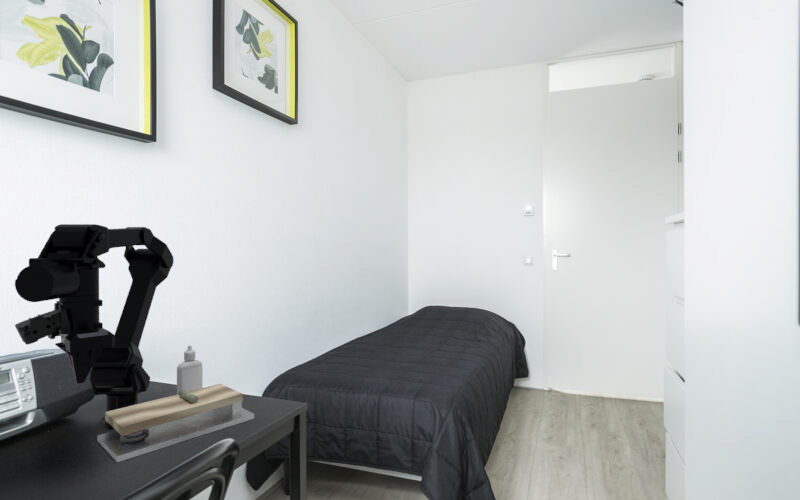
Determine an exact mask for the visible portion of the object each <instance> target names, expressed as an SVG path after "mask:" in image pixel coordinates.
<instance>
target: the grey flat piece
mask: <svg viewBox="0 0 800 500" xmlns="http://www.w3.org/2000/svg"><path fill="white" fill-rule="evenodd" d="M242 403H243V401H241V402H238V403H234V404H231V405H227V406H224V407H220V408H217V409H213V410H210V411H206V412H203V413H199V414H196V415H192V416H189V417H185V418H182V419H178V420H175V421H171V422H168V423H164V424H161V425H157V426H154V427H150V428H147V429H143V430H140V431H137V432H133V433H130V434H126V435H123V436H122V435H121V434H119V433H118V432H117V431H116V430H114V431H113V430H112V431H109V432H106V433H103V434H98V435H97V436H96V437H97V439H96V440H97V443H98V444H99V445H100V446H101V447H102V448H103V449H104V450H105V451H106V453H108V455H110V456H111V458H112V459H113V460H114V461H115V462H116V463H121V462H123V461H126V460H128V459H132V458H136V457H138V456H142V455H144V454H147V453H151V452H154V451H158V450H160V449H163V448H167V447H171V446H173V445H176V444H179V443H182V442H186V441H189V440H192V439H194V438H198V437H200V436H203V435H204V436H205V435H207V434H210V433H213V432H217V431H220V430H222V429H226V428H228V427H232V426H235V425H236V426H237V425H238V424H239V425H240V424H241V423H244V422H249V421H251V420H253V419H255V413H253V412H251V411H250V410H247V409H245V408H244V407H243V406H242Z"/></svg>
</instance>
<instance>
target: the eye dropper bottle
mask: <svg viewBox="0 0 800 500" xmlns="http://www.w3.org/2000/svg"><path fill="white" fill-rule="evenodd" d="M183 360H184V361H182V362H181V363H179V364H178V365H177V367H176V394H179V391H180V390H182V389H184V390H186V391H188V392H189V391H193V390H197V389H201V388H204V387H203V362H202V361H200V360H197V359H196V350H193V347H192V345H188V346H187V350H185V351H184V352H183Z"/></svg>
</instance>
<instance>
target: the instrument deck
mask: <svg viewBox="0 0 800 500" xmlns="http://www.w3.org/2000/svg"><path fill="white" fill-rule="evenodd" d="M243 400H244V393H242V392H240V391H238V390H235V389H233V388H231V387H228V386H226V385H224V384H222V383H218V384H214V385H210V386H206V387H203V388H201V389H197V390H193V391H189V392H188V391H186V390H184V389H182V390H180V391H179V394H177V393H176V394H173V395H169V396H164V397H161V398H160V397H159V398H156V399H152V400H149V401H145V402H140V403H138V404H136V405H132V406H128V407H123V408H119V409H115V410H111V411H107V412H106V411H104V418H105V420H106V421H107V422H108V423H109V424H110V425H111V426H112V427H113V429H114V431H117V432H118V433H119V434H121V435H122V436H123V435H126V434H130V433H133V432H137V431H140V430H143V429H147V428H150V427H154V426H157V425H161V424H164V423H168V422H171V421H175V420H178V419H182V418H185V417H189V416H192V415H196V414H199V413H203V412H206V411H210V410H213V409H217V408H220V407H224V406H227V405H231V404H234V403H238V402H241V401H242V402H244V401H243Z"/></svg>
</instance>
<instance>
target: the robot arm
mask: <svg viewBox="0 0 800 500" xmlns="http://www.w3.org/2000/svg"><path fill="white" fill-rule="evenodd" d="M134 246H144V247H145V248H137V249H135V247H134ZM123 247H125V250H124V253H123V256H124V257H123V258H124V259H125V260H126V262H127V264H128V272H129V274H130V276H131V279H132V280H131V283H130V284H131V285H130V287H129V290H128V292H127V297H126V299H125V302H124V305H123V308H122V311H121V314H120V317H119V321H118V323H117V326H116V329H115V331H114V332H115V333H112V332H111V331H110V330H108V329H106V328H104V326H103V323H102V322H100V307H103V300H102V299H100V269H104V268H106V264H105V263H104V261H102V260H101V259H99V256H101V255H104V254H107V253H109V252H110V249H114V248H123ZM173 266H174V255H173V254H172V252H171V250H170V248H169V247H168V245H167V244H166V243H165V242H164V241H162V240H161V239H160V238H158V237H156V236H155V235H154V233H153V231H152V230H151V229H150V228H148V227H147V226H146V227H145V226H127V227H125V228H108V226H105V225H100V224H95V223H93V224H92V223H89V224H88V223H87V224H86V223H85V224H84V223H83V224H76V223H75V224H73V223H72V224H71V223H70V224H66V223H65V224H63V223H62V224H58V225H55V226H54V231H53V232H52V233H51V234H50V235H49V237H48V238H47V241H46V243H45V244H44V246H43V248H42V249H41V251H40V253H39V255H38V257H35V258H34V257H32V258H31V257H30V258H29V259H28V266H26V267H24V268H23V269H22V270H21V271H19V273H18V275H17V278H16V279H15V281H14V287H15V290H16V293H17V295H18V296H19V297H20V298H21V299H23V300H24V301H27V302H30V303H39V302H44V301H50V300H51V301H52V300H56V302H55V303H54V309H53V310H51V311H47V312H45V313H42V314H37V315H36V316H33V317H28V319H25V320H23V321H21V322H18V323H16V324H15V325H14V327H15V329H16V331H17V332H18V335H19V336H20V338H21V340H22V342H23V343H25V345H32V344H34V343H37V342H39V340H41V339H44V338H45V337H48V338H49V339H50V340H54V339H56V337H60V342H57V343H55V344H54V345H55V346H56V347H57V348H59V349H61V350H62V351H63V352H65V353H66V355H67V357H68V361H69V364H70V367H71V370H72V373H73V377H74V381H75V383H76V384H78V385H79V384H82V383H85V381H86V380H87V377H88V376H89V381H90V383H91V388H92V392H93V395H94V396H99V395H105V412H107V411H111V410H115V409H119V408H123V407H128V406H132V405H136V404H139V394H141V393H144V392H147V391H148V388H150V381H151V377H150V375H149V374H148V372H147V371H146V370H145V368H143V363H144V359H143V356H142V353H141V351H140V349H139V347H140V343H141V339H142V336H143V334H144V333H143V332H144V329H145V326H146V323H147V320H148V316H149V313H150V309H151V306H152V303H153V299H154V296H155V292H156V290H157V287H158V286H160V285H161V283H163V282H164V281H165V280H166V279H167V278H168V277H169V274H170V272H171V269H172V267H173ZM99 422H100V423H101V424H103V426H104V427H106V429H108V430H113V429H114V428H113V427H112V426H111V425H110V424H109V423H108V422H107V421H106V420H105V417H102V418H100V419H99Z"/></svg>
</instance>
